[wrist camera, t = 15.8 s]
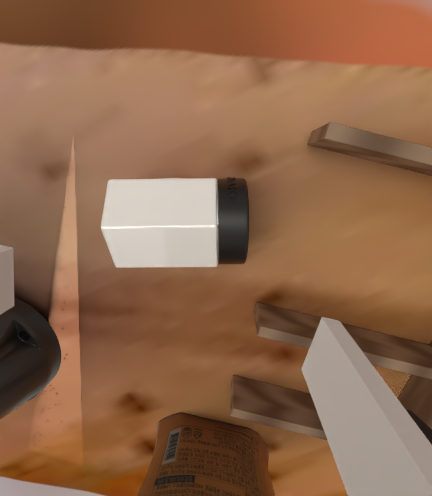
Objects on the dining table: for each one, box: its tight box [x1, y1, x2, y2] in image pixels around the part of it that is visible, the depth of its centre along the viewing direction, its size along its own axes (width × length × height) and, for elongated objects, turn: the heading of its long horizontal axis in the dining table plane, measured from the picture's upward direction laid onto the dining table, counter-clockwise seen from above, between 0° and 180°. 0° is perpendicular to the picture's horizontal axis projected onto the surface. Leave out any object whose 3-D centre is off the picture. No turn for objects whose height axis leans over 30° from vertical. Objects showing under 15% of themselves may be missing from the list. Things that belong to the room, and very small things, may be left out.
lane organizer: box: [231, 122, 432, 440], centre depth 27 cm, size 22×32×5 cm
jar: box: [101, 178, 249, 268], centre depth 24 cm, size 9×8×12 cm
